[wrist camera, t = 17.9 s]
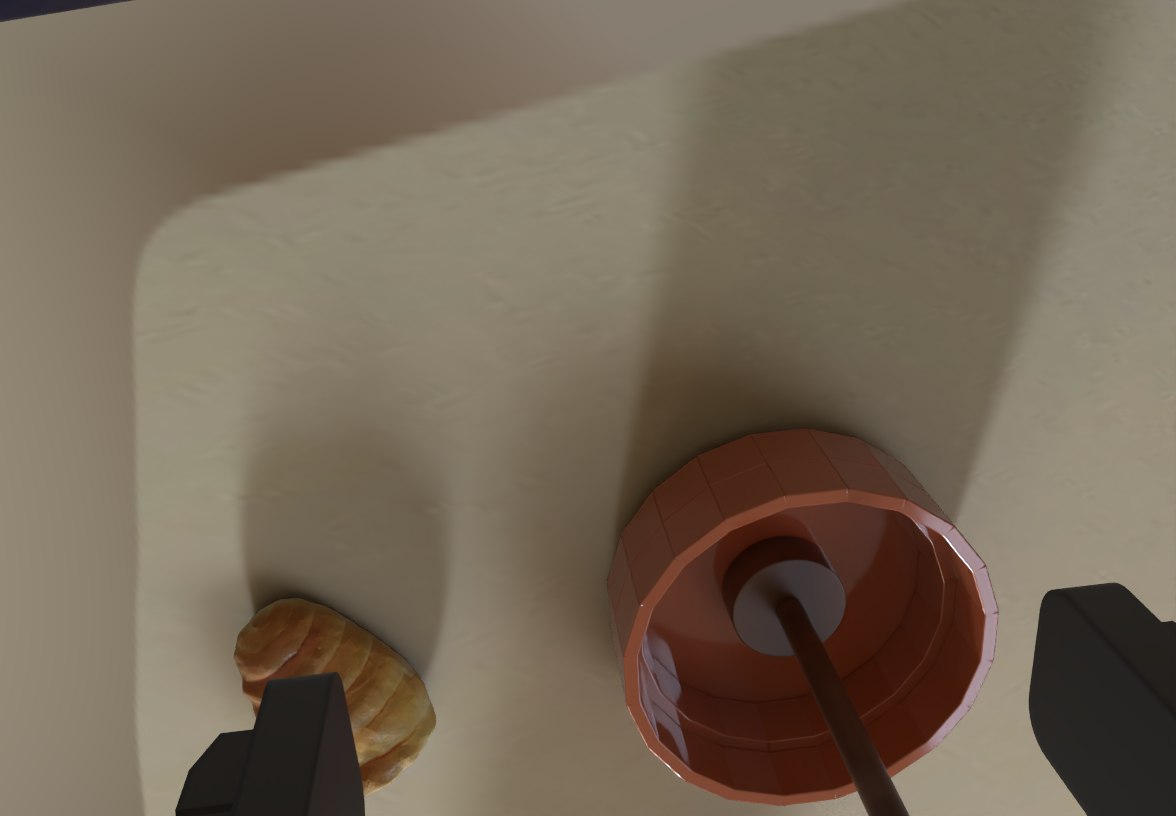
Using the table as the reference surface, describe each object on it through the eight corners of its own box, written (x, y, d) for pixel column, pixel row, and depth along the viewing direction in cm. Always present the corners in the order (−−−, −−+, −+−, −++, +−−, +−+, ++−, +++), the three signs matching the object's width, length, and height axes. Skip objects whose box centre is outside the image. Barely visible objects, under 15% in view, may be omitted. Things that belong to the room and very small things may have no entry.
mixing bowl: (616, 730, 50) (633, 825, 45) (595, 443, 44) (613, 513, 39) (926, 691, 51) (981, 781, 46) (949, 406, 45) (1015, 469, 40)
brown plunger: (722, 636, 48) (833, 937, 33) (721, 541, 46) (838, 818, 31) (830, 623, 48) (986, 916, 34) (833, 529, 46) (1000, 797, 32)
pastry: (200, 640, 46) (178, 697, 42) (323, 559, 45) (312, 610, 42) (338, 772, 50) (329, 834, 46) (455, 699, 49) (455, 757, 45)
